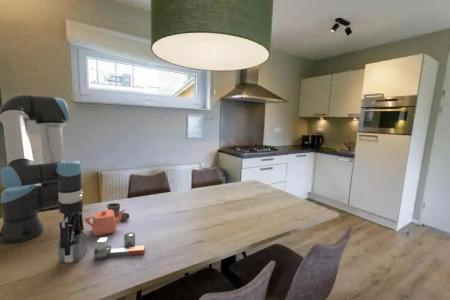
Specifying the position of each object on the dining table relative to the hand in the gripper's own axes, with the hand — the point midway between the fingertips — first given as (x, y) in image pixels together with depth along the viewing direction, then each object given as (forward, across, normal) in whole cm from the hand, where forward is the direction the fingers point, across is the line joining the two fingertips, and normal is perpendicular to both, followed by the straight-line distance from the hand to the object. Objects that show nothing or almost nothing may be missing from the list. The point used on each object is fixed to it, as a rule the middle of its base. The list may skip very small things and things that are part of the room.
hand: (73, 255), depth 89 cm
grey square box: (0, 0, 0) cm, 0 cm away
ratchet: (0, -1, -17) cm, 18 cm away
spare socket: (0, +5, -20) cm, 21 cm away
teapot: (+1, +21, -6) cm, 22 cm away
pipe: (+1, +34, -8) cm, 34 cm away
